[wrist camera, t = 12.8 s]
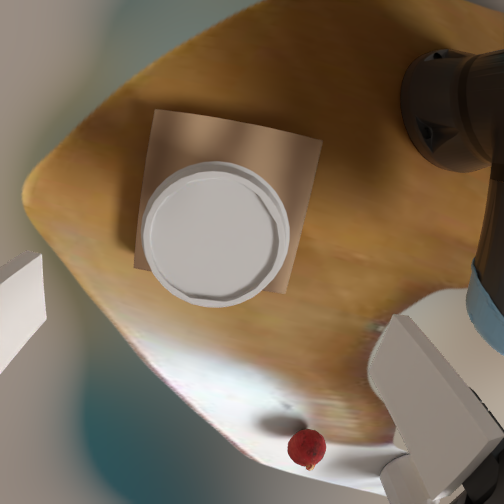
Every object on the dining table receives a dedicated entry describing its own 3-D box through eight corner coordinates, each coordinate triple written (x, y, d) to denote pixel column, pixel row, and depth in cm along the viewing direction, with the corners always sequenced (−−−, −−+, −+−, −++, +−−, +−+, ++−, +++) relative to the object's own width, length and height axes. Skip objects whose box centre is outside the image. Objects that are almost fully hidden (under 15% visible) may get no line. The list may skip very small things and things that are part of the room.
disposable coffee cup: (152, 216, 31) (109, 259, 19) (210, 134, 28) (195, 129, 17) (231, 270, 33) (230, 338, 22) (291, 195, 31) (324, 228, 19)
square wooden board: (315, 140, 32) (323, 140, 29) (281, 282, 37) (285, 293, 34) (161, 111, 30) (155, 109, 27) (140, 258, 35) (133, 268, 32)
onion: (296, 416, 44) (305, 456, 37) (327, 422, 46) (339, 459, 38) (278, 437, 46) (284, 476, 39) (308, 442, 47) (317, 479, 40)
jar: (399, 450, 51) (430, 517, 34) (426, 452, 53) (457, 511, 36) (369, 476, 54) (392, 541, 37) (397, 477, 56) (421, 535, 39)
